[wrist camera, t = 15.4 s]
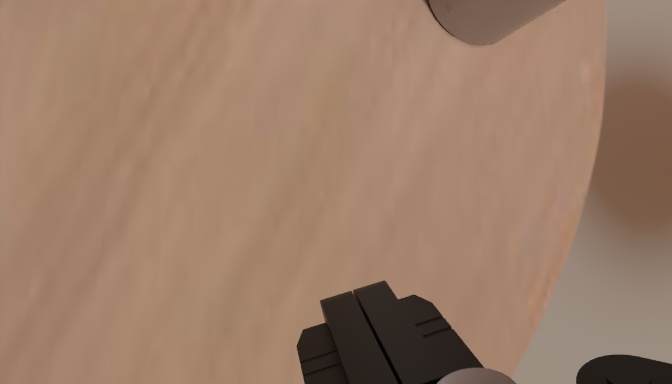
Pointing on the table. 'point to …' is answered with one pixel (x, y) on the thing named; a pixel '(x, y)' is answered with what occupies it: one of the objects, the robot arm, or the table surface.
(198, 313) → the table surface
